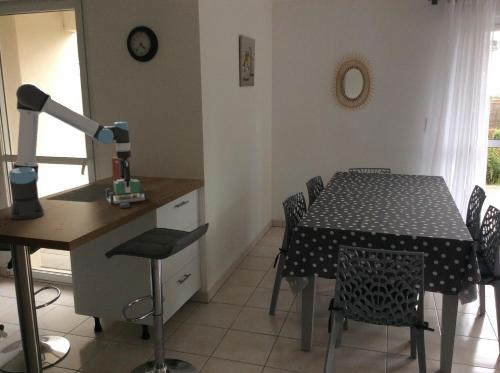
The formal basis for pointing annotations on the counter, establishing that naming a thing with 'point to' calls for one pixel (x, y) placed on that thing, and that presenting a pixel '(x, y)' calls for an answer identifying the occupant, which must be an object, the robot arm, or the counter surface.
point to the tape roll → (124, 205)
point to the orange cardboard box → (116, 168)
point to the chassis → (126, 197)
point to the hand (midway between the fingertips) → (126, 191)
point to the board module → (120, 186)
